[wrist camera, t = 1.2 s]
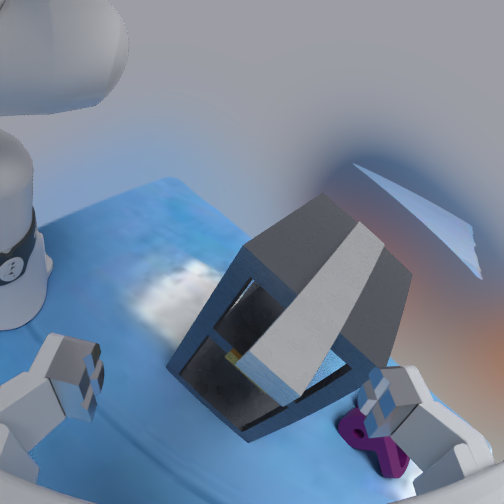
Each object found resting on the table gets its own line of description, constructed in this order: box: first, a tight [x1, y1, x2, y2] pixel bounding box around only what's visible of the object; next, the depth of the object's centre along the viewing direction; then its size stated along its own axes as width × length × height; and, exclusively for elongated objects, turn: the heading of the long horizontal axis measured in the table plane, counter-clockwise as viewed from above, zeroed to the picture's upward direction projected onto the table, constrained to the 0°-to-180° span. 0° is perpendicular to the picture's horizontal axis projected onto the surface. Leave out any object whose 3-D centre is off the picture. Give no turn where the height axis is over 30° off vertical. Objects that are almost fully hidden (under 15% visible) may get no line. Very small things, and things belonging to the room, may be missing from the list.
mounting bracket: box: [338, 401, 410, 478], centre depth 47 cm, size 10×8×18 cm
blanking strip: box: [235, 221, 385, 407], centre depth 27 cm, size 4×24×2 cm, turn 144°
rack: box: [166, 193, 412, 443], centre depth 41 cm, size 16×20×26 cm
